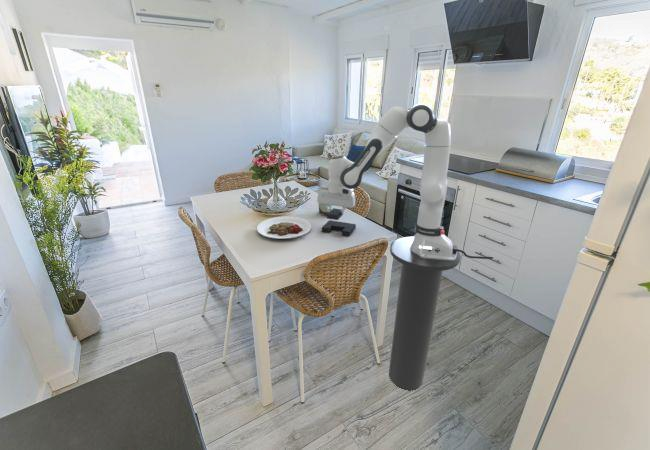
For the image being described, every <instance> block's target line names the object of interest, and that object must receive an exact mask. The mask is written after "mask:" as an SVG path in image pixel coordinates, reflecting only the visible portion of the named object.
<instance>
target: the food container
mask: <svg viewBox="0 0 650 450" xmlns="http://www.w3.org/2000/svg"><path fill="white" fill-rule="evenodd" d="M329 208H330V209H331V210H332V209H333V205H329ZM318 213H319V214H320V215H322V216H325V217H326V218H327V214H328V213H329V212H327V208H326V206H325V204H320V203H318Z"/></svg>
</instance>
